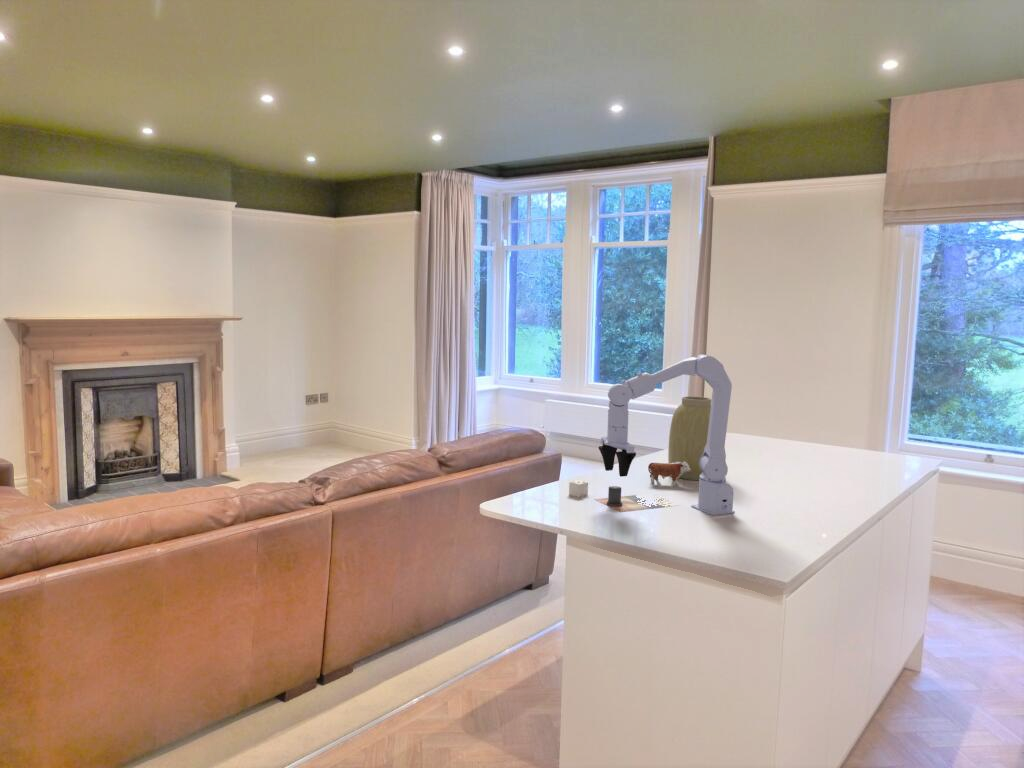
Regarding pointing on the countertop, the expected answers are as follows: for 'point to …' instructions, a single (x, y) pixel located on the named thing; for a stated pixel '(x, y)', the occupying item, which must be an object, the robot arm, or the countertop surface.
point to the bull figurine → (667, 471)
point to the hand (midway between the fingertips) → (616, 473)
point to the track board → (632, 504)
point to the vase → (689, 434)
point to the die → (578, 488)
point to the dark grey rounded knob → (614, 496)
